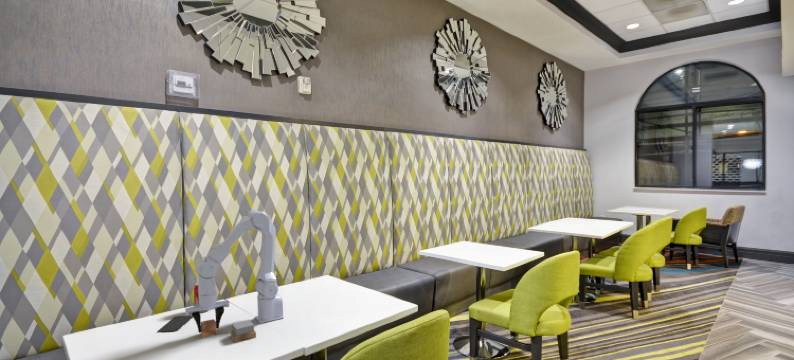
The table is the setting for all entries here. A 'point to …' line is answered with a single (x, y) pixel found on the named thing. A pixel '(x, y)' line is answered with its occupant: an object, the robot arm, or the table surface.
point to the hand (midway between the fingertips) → (208, 329)
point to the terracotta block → (208, 328)
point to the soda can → (196, 296)
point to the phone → (175, 324)
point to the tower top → (243, 327)
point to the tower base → (243, 336)
